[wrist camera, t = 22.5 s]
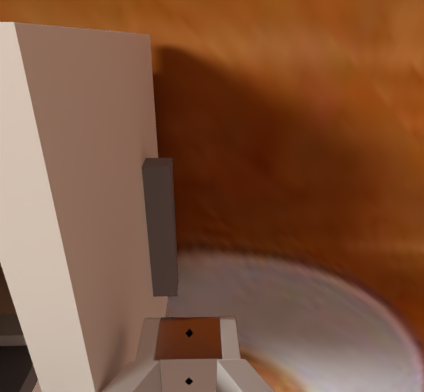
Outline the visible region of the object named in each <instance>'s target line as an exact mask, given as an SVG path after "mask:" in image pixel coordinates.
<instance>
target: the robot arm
mask: <svg viewBox="0 0 424 392" xmlns="http://www.w3.org/2000/svg"><path fill="white" fill-rule="evenodd" d="M102 392H274V390H273V389H272V388H271V387H270V386H269V385H268V384H267V382H266V381H265V380H264V379H263V378H262V377H261V376H260V375H259V373H258V372H257V371H256V370H255V369H254V368H253V367H252V366H251V364H250V363H249V362H248V361H247V360H246V359H241V355H240V347H239V339H238V332H237V324H236V318H235V316H227V317H189V318H174V317H161V318H146V317H145V319H144V321H143V325H142V330H141V335H140V340H139V345H138V350H137V355H136V359H135V361H130V362H129V363H128V364H127V365H126V366H125V367H124V368H123V369H122V370H121V372H120V373H119V374H118V375H117V376H116V377H115V378H114V379H113V380H112V381H111V382H110V383H109V384H108V385H107V386H106V387H105V388H104V389H103V390H102Z"/></svg>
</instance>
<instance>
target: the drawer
mask: <svg viewBox="0 0 424 392" xmlns="http://www.w3.org/2000/svg"><path fill="white" fill-rule="evenodd" d="M0 263H1V266H2V269H3V272H4V276H5V279H6V282H7V285H8V288H9V291H10V294H11V297H12V300H13V304H14V307H15V310H16V313H13V314H0V346H26V345H27V347H28V350H29V353H30V356H31V359H32V363H33V366H34V369H35V372H36V375H37V378H38V381H39V384H40V387H41V391H42V392H102V390H103V389H104V388H105V387H106V386H107V385H108V384H109V383H110V382H111V381H112V380H113V379H114V378H115V377H116V376H117V375H118V374H119V373H120V372H121V370H122V369H123V368H124V367H125V366H126V365H127V364H128V363H129V362H130V361H135V359H136V355H137V350H138V345H139V340H140V335H141V330H142V325H143V321H144V319H145V317H146V318H161V317H166V310H167V302H168V296H177V290H178V264H177V244H176V223H175V203H174V183H173V162H172V158H158V148H157V133H156V119H155V104H154V89H153V74H152V59H151V45H150V34H143V33H131V32H120V31H109V30H97V29H86V28H75V27H63V26H52V25H41V24H29V23H18V22H0Z"/></svg>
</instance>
